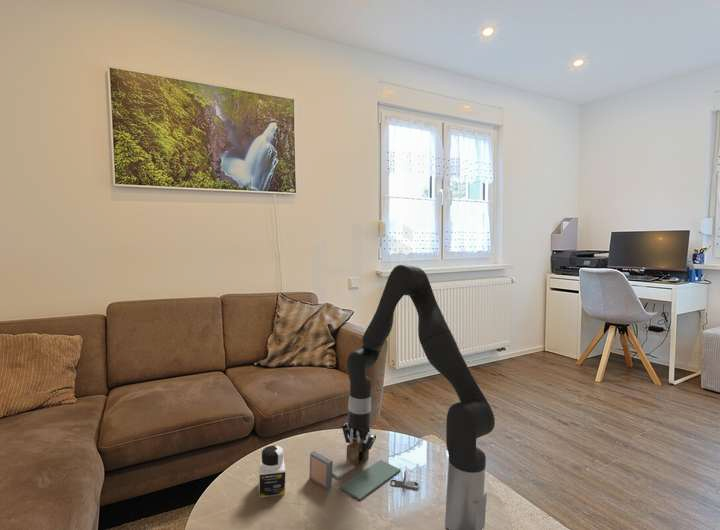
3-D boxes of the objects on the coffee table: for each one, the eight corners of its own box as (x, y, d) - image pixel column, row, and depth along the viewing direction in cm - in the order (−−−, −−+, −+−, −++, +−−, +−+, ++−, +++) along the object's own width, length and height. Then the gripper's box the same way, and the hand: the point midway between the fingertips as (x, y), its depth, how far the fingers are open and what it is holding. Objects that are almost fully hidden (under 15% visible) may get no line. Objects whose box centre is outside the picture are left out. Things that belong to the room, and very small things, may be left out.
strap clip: (418, 485, 120) (419, 471, 119) (418, 491, 117) (419, 477, 116) (391, 481, 121) (391, 467, 121) (390, 486, 118) (390, 473, 118)
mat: (400, 471, 126) (400, 469, 126) (359, 500, 111) (360, 498, 111) (380, 461, 131) (380, 459, 131) (339, 488, 116) (339, 486, 116)
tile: (331, 487, 116) (332, 461, 116) (327, 490, 115) (328, 463, 114) (313, 476, 121) (314, 451, 121) (309, 478, 120) (309, 453, 120)
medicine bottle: (259, 498, 110) (260, 456, 109) (258, 483, 117) (259, 443, 116) (284, 495, 112) (286, 454, 111) (282, 480, 119) (284, 441, 118)
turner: (370, 458, 133) (371, 441, 132) (338, 478, 120) (338, 460, 120) (359, 452, 136) (360, 436, 136) (326, 472, 124) (327, 453, 123)
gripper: (383, 411, 128) (380, 462, 129) (351, 399, 137) (349, 446, 139) (368, 418, 123) (366, 472, 124) (336, 405, 132) (334, 455, 133)
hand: (357, 458), depth 131 cm, fingers closed on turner, 3 cm apart
